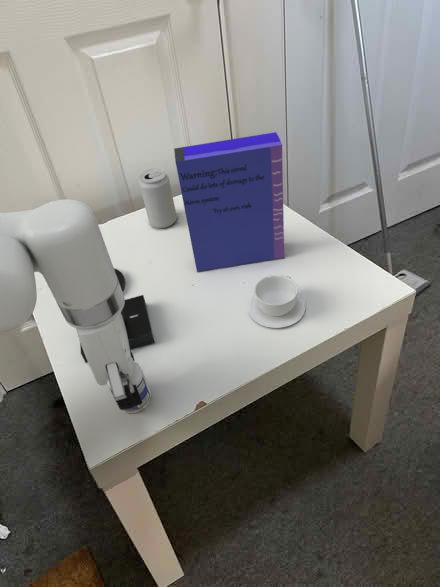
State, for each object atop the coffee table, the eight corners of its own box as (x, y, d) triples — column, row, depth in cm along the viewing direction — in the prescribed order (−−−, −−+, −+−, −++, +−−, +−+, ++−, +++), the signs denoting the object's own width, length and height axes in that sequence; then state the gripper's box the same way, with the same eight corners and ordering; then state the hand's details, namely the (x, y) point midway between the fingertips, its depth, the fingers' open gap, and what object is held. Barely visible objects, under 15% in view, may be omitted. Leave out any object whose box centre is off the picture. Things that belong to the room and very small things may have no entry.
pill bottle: (115, 390, 72) (98, 355, 66) (147, 380, 73) (134, 344, 67) (120, 419, 68) (103, 384, 62) (154, 407, 69) (140, 372, 63)
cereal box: (279, 243, 94) (276, 131, 77) (284, 258, 90) (282, 143, 74) (195, 257, 94) (173, 147, 77) (197, 272, 90) (175, 160, 74)
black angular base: (85, 362, 77) (80, 353, 75) (82, 321, 84) (77, 311, 82) (155, 343, 78) (151, 332, 76) (146, 304, 85) (143, 294, 83)
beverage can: (146, 219, 106) (133, 172, 97) (171, 210, 107) (161, 163, 99) (155, 233, 101) (142, 185, 93) (181, 224, 103) (172, 176, 94)
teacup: (289, 337, 76) (289, 318, 72) (238, 317, 80) (235, 298, 77) (314, 299, 81) (315, 279, 78) (265, 282, 86) (264, 263, 83)
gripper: (58, 263, 61) (98, 347, 73) (61, 361, 49) (108, 443, 61) (114, 249, 62) (143, 334, 74) (130, 341, 50) (163, 426, 62)
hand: (127, 383), depth 68 cm, fingers open, 7 cm apart
